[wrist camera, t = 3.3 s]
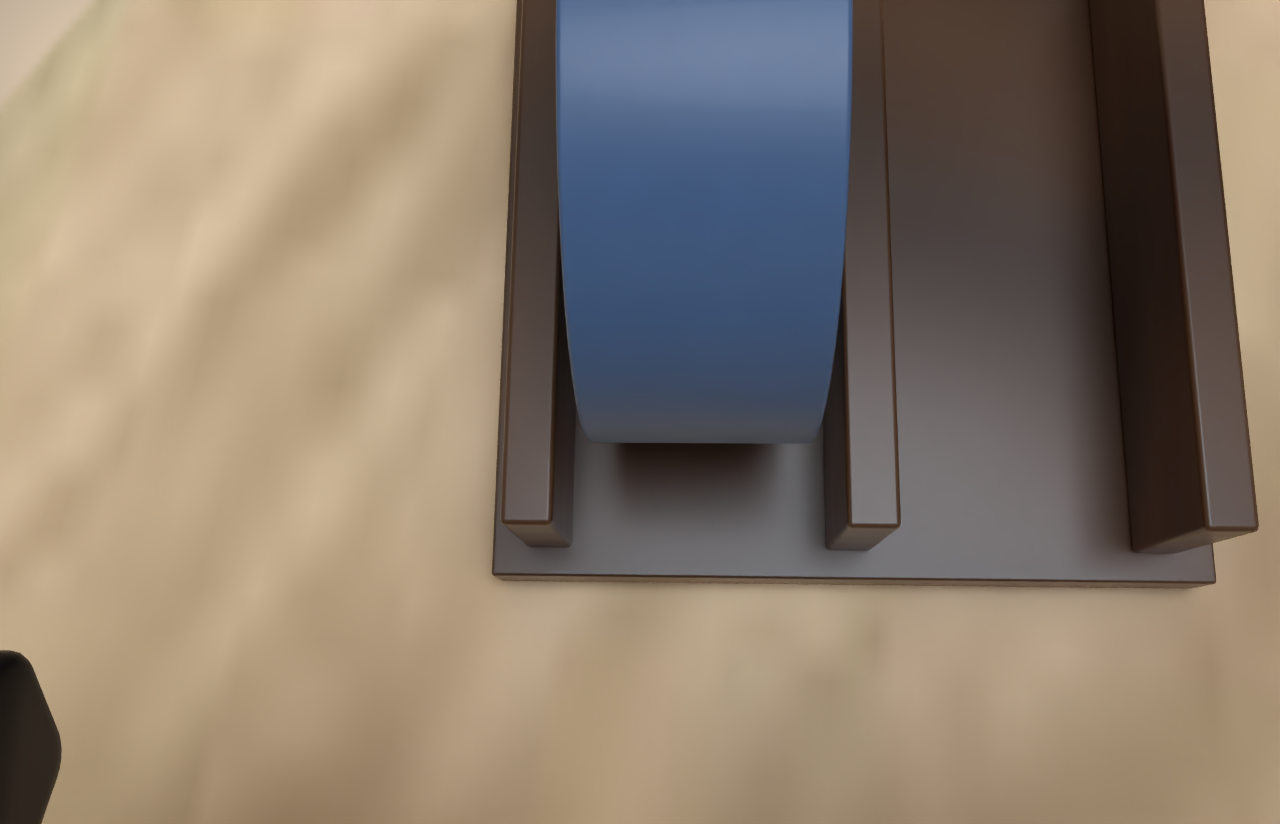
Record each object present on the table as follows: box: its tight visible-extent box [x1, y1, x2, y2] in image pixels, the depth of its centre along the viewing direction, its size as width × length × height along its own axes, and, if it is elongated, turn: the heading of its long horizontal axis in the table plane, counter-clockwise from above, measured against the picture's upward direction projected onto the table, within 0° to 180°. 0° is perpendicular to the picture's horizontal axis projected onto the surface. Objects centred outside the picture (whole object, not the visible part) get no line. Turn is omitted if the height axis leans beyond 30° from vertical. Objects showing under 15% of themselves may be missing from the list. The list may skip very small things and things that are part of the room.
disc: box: [556, 0, 853, 444], centre depth 17 cm, size 9×3×9 cm, turn 179°
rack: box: [492, 0, 1259, 588], centre depth 21 cm, size 12×12×4 cm
